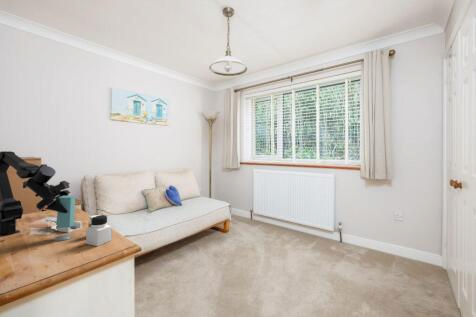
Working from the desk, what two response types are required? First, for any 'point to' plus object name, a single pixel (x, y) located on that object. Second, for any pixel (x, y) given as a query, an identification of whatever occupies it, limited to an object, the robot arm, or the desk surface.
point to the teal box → (67, 218)
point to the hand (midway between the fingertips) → (69, 211)
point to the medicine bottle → (98, 231)
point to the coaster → (62, 237)
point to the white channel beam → (74, 227)
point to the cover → (52, 219)
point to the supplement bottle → (90, 221)
